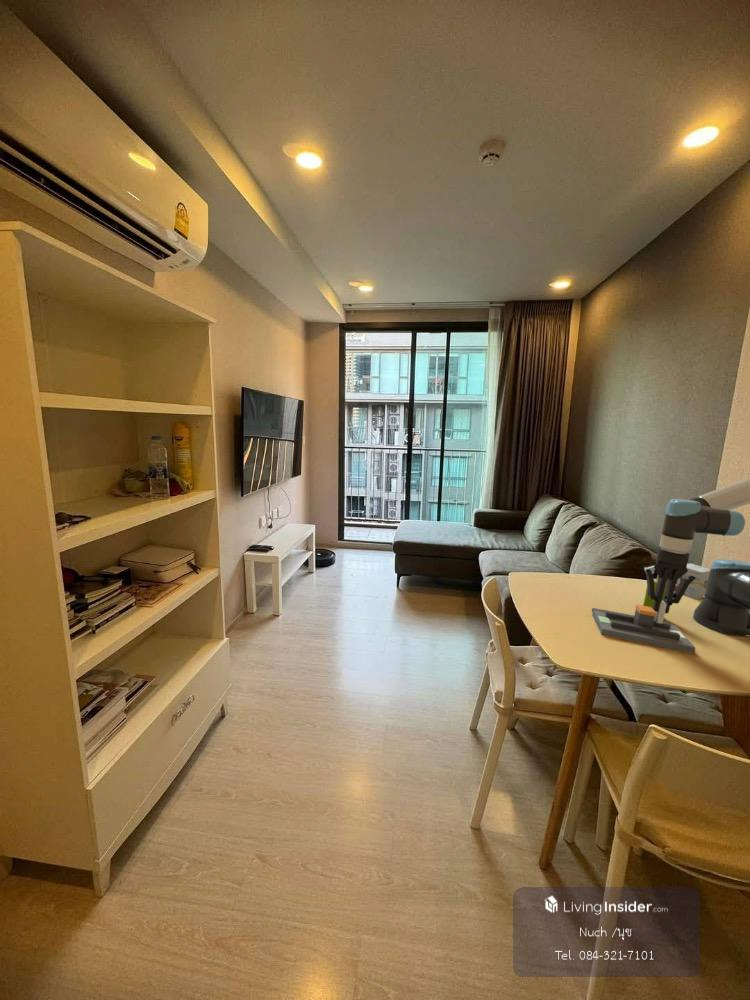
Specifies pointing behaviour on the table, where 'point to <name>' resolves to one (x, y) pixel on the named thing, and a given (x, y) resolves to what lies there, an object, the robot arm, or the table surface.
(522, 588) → the table surface
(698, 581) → the ink box
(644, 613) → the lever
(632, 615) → the grey twin rods
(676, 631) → the panel
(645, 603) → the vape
